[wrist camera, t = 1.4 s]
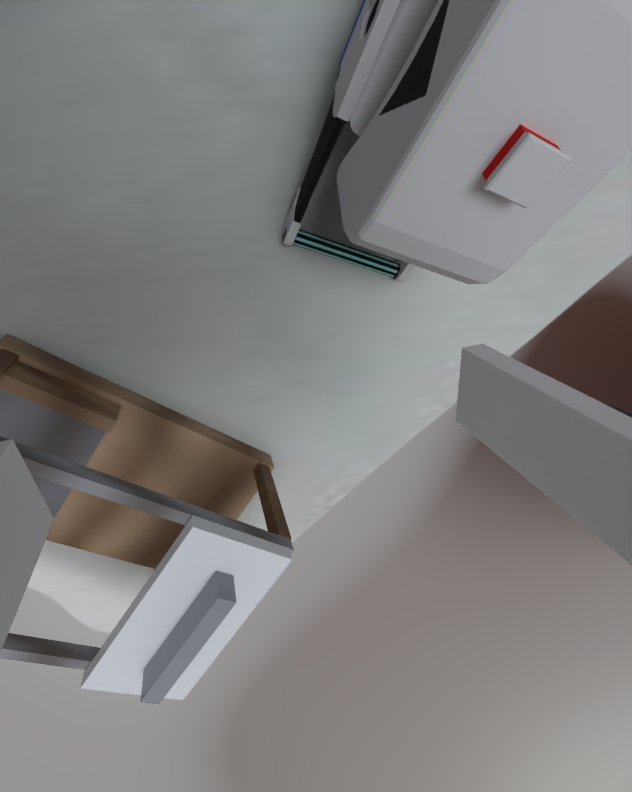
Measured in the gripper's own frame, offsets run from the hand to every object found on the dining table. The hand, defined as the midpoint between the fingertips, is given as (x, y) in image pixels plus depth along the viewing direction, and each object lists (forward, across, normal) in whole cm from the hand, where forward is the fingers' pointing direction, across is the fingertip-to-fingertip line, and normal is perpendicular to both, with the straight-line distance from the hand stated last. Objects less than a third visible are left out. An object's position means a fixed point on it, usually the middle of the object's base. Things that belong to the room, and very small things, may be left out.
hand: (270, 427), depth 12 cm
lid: (+9, -6, -18) cm, 21 cm away
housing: (+21, -11, -14) cm, 27 cm away
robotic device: (+22, +14, +10) cm, 27 cm away
